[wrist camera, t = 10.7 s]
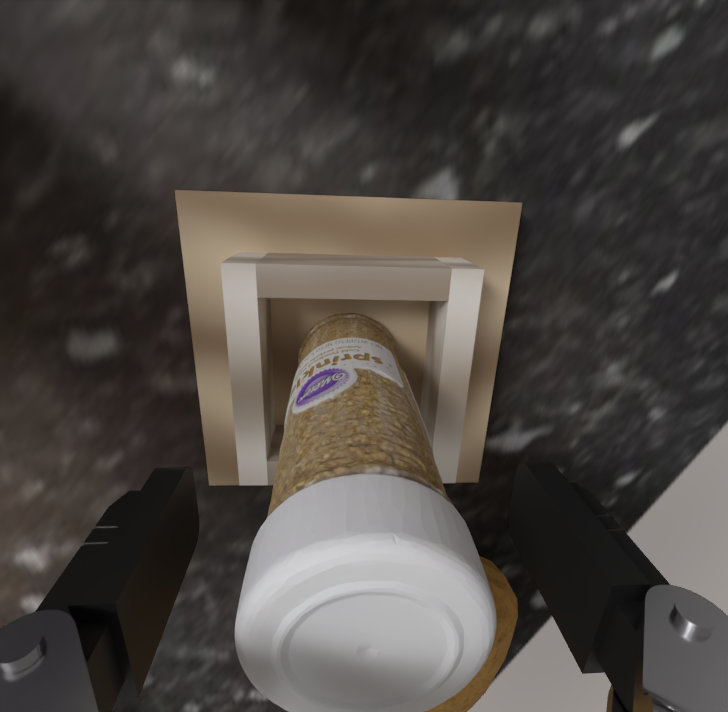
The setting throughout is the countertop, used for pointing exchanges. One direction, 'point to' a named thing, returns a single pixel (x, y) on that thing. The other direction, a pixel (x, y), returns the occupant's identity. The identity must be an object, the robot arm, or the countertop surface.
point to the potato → (507, 616)
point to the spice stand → (342, 310)
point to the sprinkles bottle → (360, 545)
